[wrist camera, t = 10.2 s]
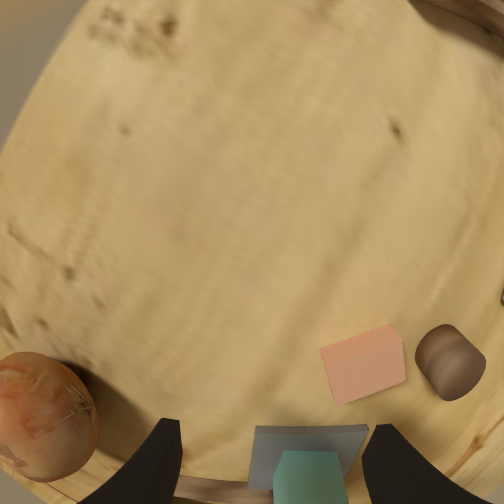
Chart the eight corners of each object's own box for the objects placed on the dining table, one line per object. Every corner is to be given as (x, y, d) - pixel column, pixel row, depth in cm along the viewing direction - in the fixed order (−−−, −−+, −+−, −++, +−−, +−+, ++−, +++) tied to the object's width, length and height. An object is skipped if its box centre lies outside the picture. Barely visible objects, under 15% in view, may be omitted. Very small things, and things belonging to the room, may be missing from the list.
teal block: (336, 451, 22) (349, 507, 16) (320, 478, 23) (329, 530, 18) (284, 450, 22) (289, 510, 16) (272, 478, 23) (275, 532, 17)
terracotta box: (388, 321, 20) (402, 340, 17) (393, 360, 21) (405, 380, 18) (318, 346, 20) (325, 368, 18) (329, 383, 21) (336, 406, 19)
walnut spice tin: (466, 329, 20) (494, 355, 16) (441, 371, 21) (465, 401, 17) (431, 319, 20) (460, 349, 16) (406, 366, 21) (428, 399, 17)
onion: (3, 352, 21) (-60, 415, 12) (60, 310, 20) (-24, 391, 10) (69, 430, 23) (28, 504, 14) (139, 408, 22) (99, 508, 12)
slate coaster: (365, 424, 22) (368, 430, 21) (338, 481, 25) (340, 487, 24) (255, 425, 22) (255, 433, 21) (247, 483, 25) (247, 489, 24)
